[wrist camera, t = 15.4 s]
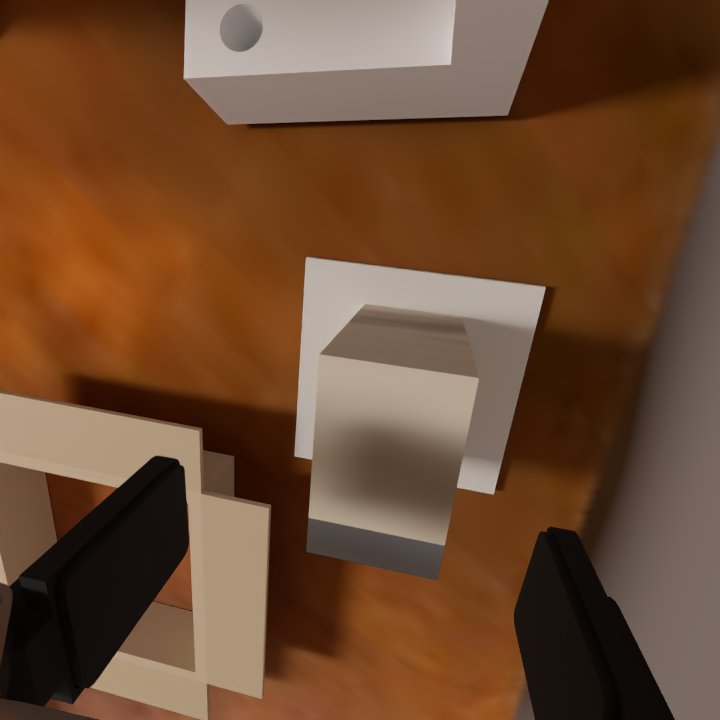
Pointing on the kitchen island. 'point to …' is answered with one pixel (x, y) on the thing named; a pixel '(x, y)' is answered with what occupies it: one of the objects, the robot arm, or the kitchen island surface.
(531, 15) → the bracket
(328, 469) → the birch box
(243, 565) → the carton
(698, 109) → the kitchen island surface
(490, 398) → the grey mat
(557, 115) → the kitchen island surface
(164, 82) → the kitchen island surface
